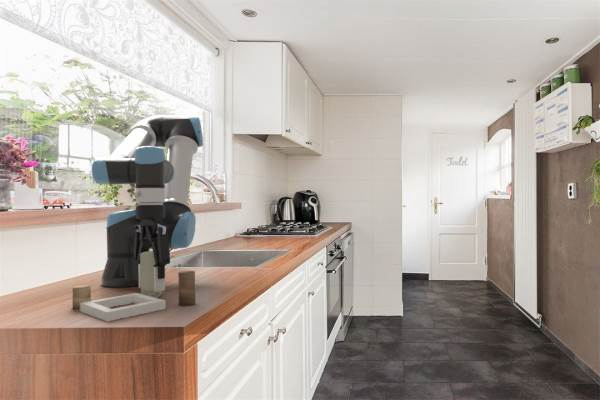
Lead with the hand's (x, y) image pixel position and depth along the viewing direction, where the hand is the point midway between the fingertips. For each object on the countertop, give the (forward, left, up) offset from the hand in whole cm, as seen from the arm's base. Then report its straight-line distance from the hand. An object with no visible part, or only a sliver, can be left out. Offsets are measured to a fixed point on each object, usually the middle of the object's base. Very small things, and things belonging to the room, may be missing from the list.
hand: (151, 288), depth 117 cm
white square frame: (+8, -12, -2) cm, 15 cm away
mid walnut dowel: (+15, +1, -2) cm, 15 cm away
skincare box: (0, 0, -2) cm, 2 cm away
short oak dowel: (-3, -17, -2) cm, 17 cm away
